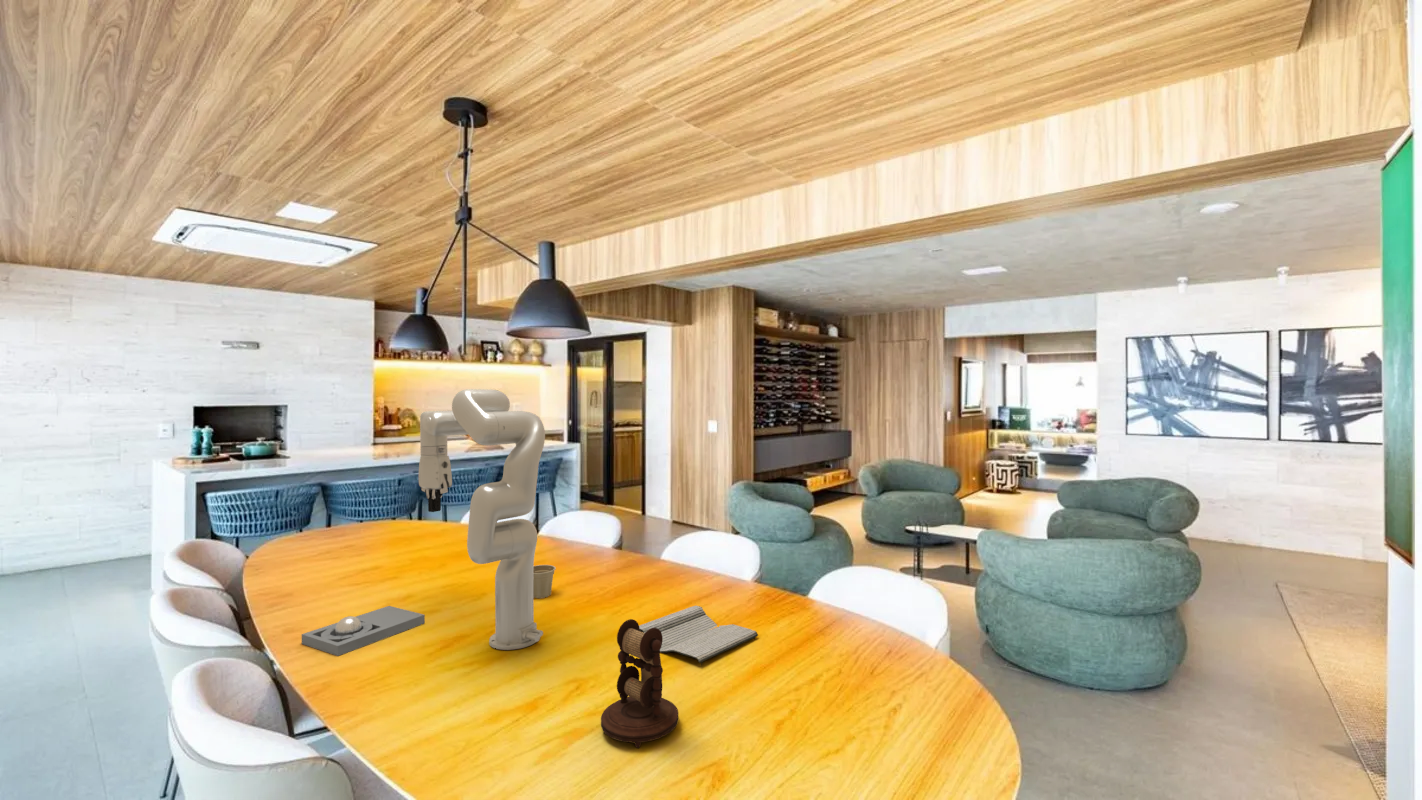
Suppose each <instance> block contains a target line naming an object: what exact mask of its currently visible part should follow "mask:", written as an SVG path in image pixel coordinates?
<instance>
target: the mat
mask: <svg viewBox="0 0 1422 800" xmlns="http://www.w3.org/2000/svg"><path fill="white" fill-rule="evenodd" d="M717 625H718V623H716V622H715V620H713V619H712V618H711V617H710V616H708V615H707V614H706V612H705V610H704V609H703V607H702V606H699V605H693V606H689V607H687V608H685V609H681V610H679V611H676V612H673V613H670V614H668V615H664V616H662V617H659V618H657V619H654V620H651V621H648V622H646V623H642V624H640V625H639V629H640V632H643V633H645V632H646V631H647V630H649V629H651V628H658V629H659V630H660V631H661V633H662V637H663V641H662V646H661V649H660V651H661V653H660V654H663V653H670V652H671V653H677V654H679V655H682V656H685V657H690V658H693V659H695V660H697V662H698V663H701V667H702V664H703V662H705V661H706V660H707V661H708V660H709V659H711V658H713V657H715V656H718V655H720V654H722V653H724V652H726V651H728V650H730V649H733V648H735V647H737V646H739V645H741V644H744V643H746V642H748V641H750V640H753V639H754V640H755V638H757V637H758V636H759V634H758V632H757V630H753V629H752V628H747V627H743V626H741V625H737V624H733V623H732V624H727V625H725V624H724V625H719V627H718V626H717Z"/></svg>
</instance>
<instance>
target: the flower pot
mask: <svg viewBox="0 0 1422 800" xmlns="http://www.w3.org/2000/svg"><path fill="white" fill-rule="evenodd" d="M556 568H557V567H556V566H554V565H551V564H538V565H534V567H533V599H535V598H536V599H545V597H546V598H548V597H549V596H551V595H552V588H553V587H552V586H553V579H554V575H555V571H556Z"/></svg>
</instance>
